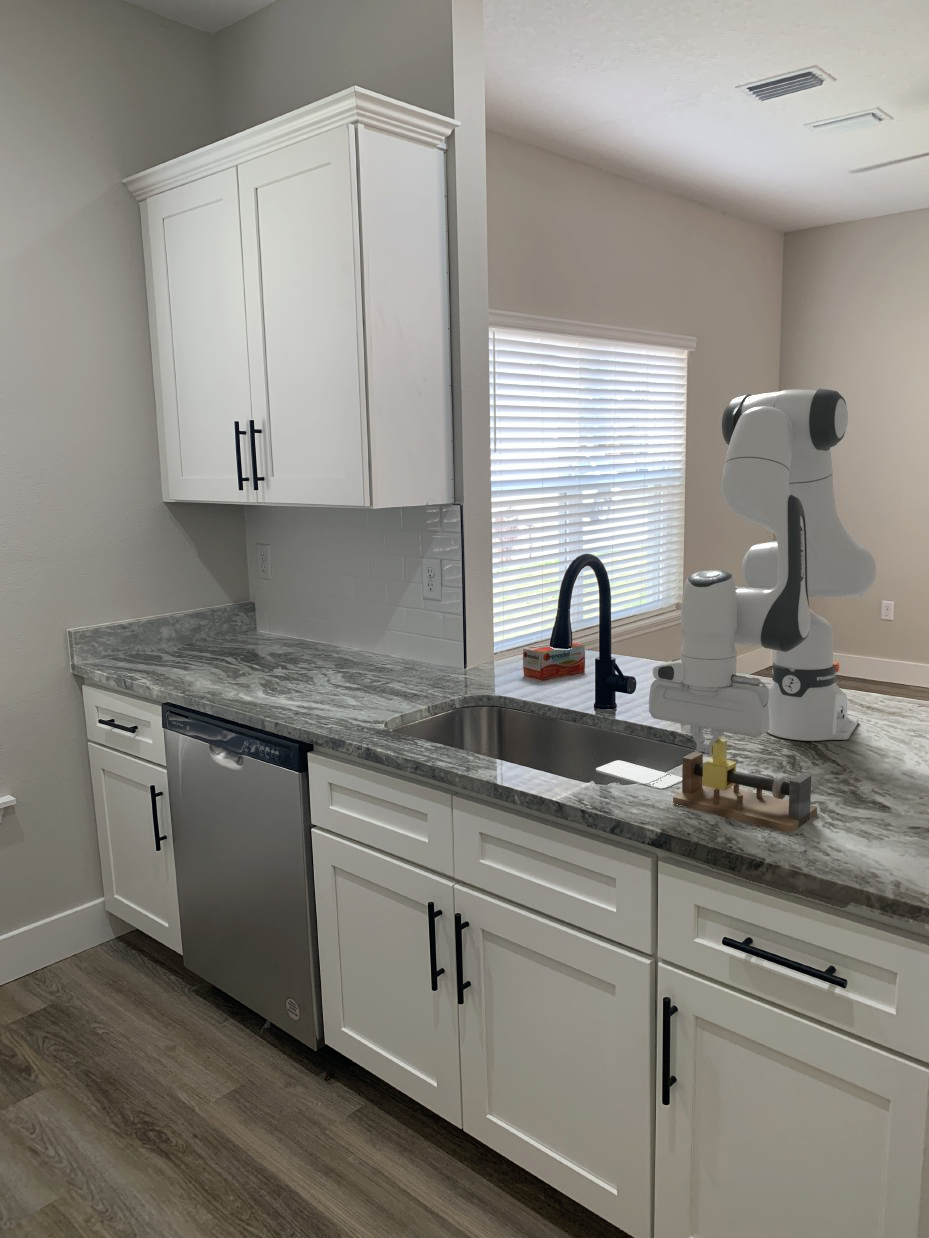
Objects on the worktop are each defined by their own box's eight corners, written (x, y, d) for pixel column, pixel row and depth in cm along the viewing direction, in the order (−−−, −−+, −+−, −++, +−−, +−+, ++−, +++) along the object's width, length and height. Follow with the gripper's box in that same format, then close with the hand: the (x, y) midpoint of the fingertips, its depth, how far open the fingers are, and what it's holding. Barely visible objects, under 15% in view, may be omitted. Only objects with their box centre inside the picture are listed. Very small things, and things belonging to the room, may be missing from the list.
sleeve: (702, 785, 154) (703, 742, 153) (713, 779, 157) (714, 736, 156) (725, 790, 152) (725, 746, 151) (735, 784, 155) (736, 741, 153)
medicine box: (565, 668, 258) (565, 639, 256) (585, 673, 251) (585, 644, 250) (522, 676, 249) (521, 647, 248) (541, 682, 243) (541, 652, 241)
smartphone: (662, 789, 162) (593, 769, 172) (662, 793, 162) (593, 772, 173) (686, 778, 167) (618, 759, 177) (686, 782, 167) (618, 763, 178)
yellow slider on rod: (672, 803, 155) (673, 762, 154) (702, 787, 162) (702, 747, 161) (790, 833, 142) (792, 787, 141) (816, 813, 149) (818, 770, 148)
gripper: (777, 676, 148) (775, 760, 151) (663, 660, 162) (663, 737, 164) (759, 683, 144) (757, 770, 146) (644, 666, 157) (643, 746, 160)
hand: (706, 753), depth 155 cm, fingers closed
